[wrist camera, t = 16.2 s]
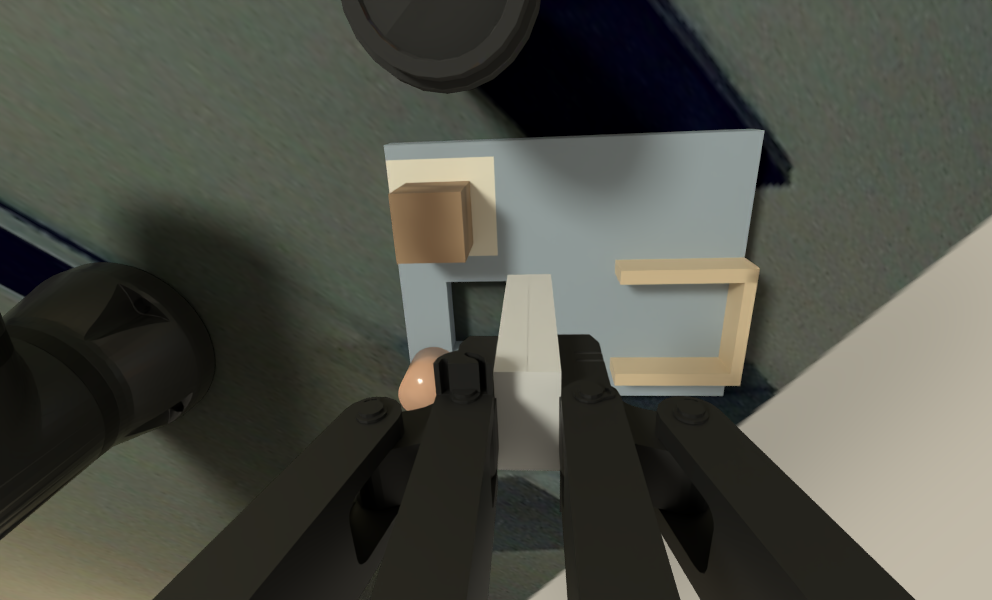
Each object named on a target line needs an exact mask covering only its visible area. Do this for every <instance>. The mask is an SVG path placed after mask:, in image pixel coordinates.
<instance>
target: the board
mask: <svg viewBox="0 0 992 600" xmlns="http://www.w3.org/2000/svg"><path fill="white" fill-rule="evenodd" d="M763 136H764V130H757V129H735V130H710V131H685V132H659V133H634V134H609V135H583V136H558V137H532V138H507V139H482V140H456V141H431V142H405V143H390V144H387V145H384V151H385V159H386V167H387V175H388V183H389V191H390V193H391V192H392V191H394V190H396V189H397V188H399V187H400V186H402V185H404V184H405V183H419V182H450V181H470V195H471V212H472V228H473V246H472V248H471V251H470V253H469V256H468V258H467V260H466V263H414V264H398V265H399V273H400V281H401V289H402V297H403V305H404V314H405V322H406V330H407V338H408V346H409V354H410V363H411V362H412V359H413V357H414V356H415V355H416V353H418V352H419V351H420V350H422V349H424V348H428V347H439V348H443V349H445V350H447V351H449V352H452V351H456V350H458V349H459V346H460V344H461V343H462V342H463V341H456V337H455V325H454V312H453V300H452V288H451V282H477V281H507V275H526V274H551V279H552V288H553V298H554V307H555V317H556V326H557V334H590V335H591V336H592V337H593V338H595V339H596V340H597V341H598V342H599V344H600V348H601V351H602V355H603V359H604V362H605V366H606V369H607V373H608V377H609V380H610V384H611V386H613V387H614V388H616V389H617V391H618V392H619V394H620V396H723V393H724V387H725V386H740V383H741V377H742V371H743V365H744V359H745V353H746V347H747V342H748V336H749V330H750V324H751V318H752V312H753V306H754V300H755V294H756V288H757V283H758V277H759V271H760V268H758V267H757V266H756V265H754V264H753V263H752V262H750V261H749V260H748V259H746V258H745V252H746V245H747V239H748V233H749V226H750V220H751V213H752V207H753V200H754V194H755V188H756V181H757V175H758V168H759V162H760V156H761V149H762V143H763Z"/></svg>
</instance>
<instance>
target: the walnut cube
mask: <svg viewBox="0 0 992 600" xmlns="http://www.w3.org/2000/svg"><path fill="white" fill-rule="evenodd" d="M388 195H389V203H390V211H391V219H392V228H393V236H394V244H395V252H396V260H397V264H414V263H466V260H467V258H468V256H469V253H470V251H471V248H472V246H473V228H472V212H471V195H470V181H450V182H419V183H405V184H404V185H402V186H400V187H399V188H397V189H396V190H394V191H392V192H391V193H389V194H388Z"/></svg>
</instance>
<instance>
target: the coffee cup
mask: <svg viewBox="0 0 992 600" xmlns="http://www.w3.org/2000/svg"><path fill="white" fill-rule="evenodd" d="M341 1H342V6H343V10H344V13H345V15H346V17H347V19H348V21H349V24H350V26H351V28H352V30H353V32H354V34H355V36H356V38H357V40H358V41H359V42H360V43H361V45H362V46H363V47H364V49H365V50H366V51H367V52H368V54H369V55H370V56H371V57H372V59H373V60H374V61H375V62H377V63H378V64H379V65H380V66H382V67H383V68H384V69H386V70H387V71H388V72H389V73H391V74H392V75H393V76H395V77H396V78H397V79H399V80H400V81H402V82H404V83H407V84H409V85H411V86H414V87H416V88H418V89H421V90H423V91H430V92H438V93H446V94H448V93H454V92H461V91H467V90H472V89H474V88H476V87H478V86H480V85H482V84H484V83H486V82H488V81H490V80H493V79H494V78H495V77H497V76H498V75H499V74H500V73H501V72H502V71H503V70H505V69H506V68H507V67H508V66H509V65H510V64H511V63H512V62H513V61H514V60H515V58H516V57H517V56H518V54H519V53H520V51H521V50H522V48H523V47H524V45H525V44H526V42H527V41H528V39H529V37H530V34H531V32H532V29H533V26H534V23H535V21H536V18H537V15H538V13H539V7H540V0H341Z"/></svg>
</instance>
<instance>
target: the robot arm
mask: <svg viewBox="0 0 992 600" xmlns="http://www.w3.org/2000/svg"><path fill="white" fill-rule="evenodd" d="M433 368H434V378H435V387H436V397H435V400H434V403H433V404H430V405H428V406H426V407H422V408H419V409H414V410H409V411H404V412H402V409H401V405H400V404H399V403H398V402H397V401H396V400H394V399H391V398H388V397H371V398H366V399H363V400H361V401H358V402H356V403H354V404H352V405H351V406H349V407H348V408H347V409H345V410H344V411H343V412H342V413H341V414H340V415H339V416H338V417H337V418H336V419H335V420H334V421H333V422H332V423H331V424H330V425H329V426H328V427H327V428H326V429H325V430H324V431H323V432H322V433H321V434H320V435H319V436H318V437H317V438H316V439H315V440H314V441H313V442H312V443H311V444H310V445H309V446H308V447H307V448H306V449H305V450H304V451H303V452H302V453H301V454H300V455H299V456H298V457H297V458H296V459H295V460H294V461H293V462H292V463H291V464H290V465H289V466H287V467H286V468H285V469H284V470H283V471H282V472H281V473H280V474H279V475H278V476H277V477H276V478H275V479H274V480H273V481H272V482H271V483H270V484H269V485H268V486H267V487H266V488H265V489H264V490H263V491H262V492H261V493H260V494H259V495H258V496H257V497H256V498H255V499H254V500H253V501H252V502H251V503H250V504H249V505H248V506H247V507H246V508H245V509H244V510H243V511H242V512H241V513H240V514H239V515H238V516H237V517H236V518H235V519H234V520H233V521H232V522H231V523H230V524H229V525H228V526H227V527H226V528H225V529H224V530H223V531H222V532H221V533H219V534H218V535H217V536H216V537H215V538H214V539H213V540H212V541H211V542H210V543H209V544H208V545H207V546H206V547H205V548H204V549H203V550H202V551H201V552H200V553H199V554H198V555H197V556H196V557H195V558H194V559H193V560H192V561H191V562H190V563H189V564H188V565H187V566H186V567H185V568H184V569H183V570H182V571H181V572H180V573H179V574H178V575H177V576H176V577H175V578H174V579H173V580H172V581H171V582H170V583H169V584H168V585H167V586H166V587H165V588H164V589H163V590H162V591H161V592H160V593H159V594H158V595H157V596H156V597H155V598H154V599H153V600H358V599H359V597H360V596H361V594H362V592H363V591H364V589H365V587H366V586H367V584H368V582H369V581H370V579H371V577H372V576H373V574H374V572H375V571H376V569H377V568H378V566H379V564H380V563H381V561H382V563H381V566H380V569H379V573H378V576H377V579H376V582H375V585H374V588H373V591H372V594H371V597H370V600H488V593H489V582H490V570H491V559H492V547H493V536H494V524H495V513H496V502H497V490H498V477H497V464H498V470H543V471H560V512H562V523H563V538H564V553H565V568H566V583H567V597H568V600H680V597H679V593H678V590H677V587H676V583H675V580H674V576H673V573H672V570H671V566H670V563H669V559H668V556H667V553H666V550H665V546H664V543H663V539H662V536H663V537H664V539H665V541H666V542H667V544H668V546H669V548H670V549H671V551H672V552H673V554H674V556H675V558H676V559H677V561H678V563H679V564H680V566H681V568H682V569H683V571H684V573H685V574H686V576H687V578H688V579H689V581H690V583H691V584H692V586H693V588H694V589H695V591H696V593H697V594H698V596H699V598H700V600H915V599H914V598H913V597H912V596H911V595H910V594H909V593H908V592H907V591H906V590H905V589H904V588H903V587H902V586H901V585H900V584H899V583H898V582H897V581H896V580H895V579H893V578H892V576H890V575H889V574H888V573H887V572H886V571H885V570H884V569H883V568H882V567H881V566H880V565H879V564H878V563H877V562H876V561H875V560H874V559H873V558H872V557H871V556H870V555H868V553H866V551H864V549H863V548H862V547H861V546H860V545H859V544H857V543H856V542H855V541H854V540H853V539H852V538H851V537H850V536H849V535H848V534H847V533H846V532H845V531H844V530H843V529H842V528H841V527H840V526H839V525H838V524H837V523H836V522H835V521H834V520H833V519H832V518H831V517H830V516H829V515H828V514H826V513H825V512H824V511H823V510H822V509H821V508H820V507H819V506H818V505H817V504H816V503H815V502H814V501H813V500H812V499H811V498H810V497H809V496H808V495H807V494H806V493H805V492H804V491H803V490H802V489H801V488H800V487H799V486H798V485H797V484H795V482H794V481H792V480H791V479H790V478H789V477H788V476H787V475H786V474H785V473H784V472H783V471H782V470H781V469H780V468H779V467H778V466H777V465H776V464H775V463H774V462H773V461H772V460H771V459H770V458H769V457H768V456H767V455H765V453H763V451H761V450H760V449H759V448H758V447H757V446H756V445H755V444H754V443H753V442H752V441H751V440H750V439H749V438H748V437H747V436H746V435H745V434H744V433H743V432H742V431H741V430H740V429H739V428H738V427H737V426H736V425H735V424H734V423H733V422H732V421H731V420H730V419H729V418H728V417H726V416H725V415H724V414H723V413H722V412H721V411H720V410H719V409H718V408H716V407H715V406H714V405H712V404H711V403H708V402H706V401H703V400H701V399H698V398H694V397H688V396H675V397H671V398H667V399H664V400H663V401H662V402H661V403H659V404H658V408H657V412H656V411H651V410H646V409H642V408H638V407H634V406H632V405H629V404H627V403H625V402H623V401H622V399H621V396H620V394H619V392H618V391H617V389H616V388H614V387H613V386H611V384H610V380H609V377H608V373H607V369H606V366H605V362H604V359H603V355H602V351H601V348H600V344H599V342H598V341H597V340H596V339H595V338H593V337H592V336H591V335H590V334H557V326H556V317H555V307H554V298H553V288H552V279H551V274H526V275H507V282H506V289H505V296H504V302H503V309H502V316H501V323H500V330H499V336H469V337H468V338H467V339H465V340H464V341H463V342H462V343H461V344H460V346H459V349H458V350H456V351H452V352H449V353H445V354H443V355H442V356H440V357H438V358H437V359H436V360H435V362H434V363H433ZM214 369H215V358H214V351H213V346H212V343H211V340H210V337H209V334H208V332H207V330H206V328H205V326H204V324H203V322H202V321H201V319H200V318H199V316H198V315H197V313H196V312H195V311H194V309H193V308H192V307H191V306H190V304H189V303H188V302H187V301H186V300H185V299H184V298H183V297H182V296H181V295H180V294H179V293H177V292H176V291H175V290H174V289H173V288H171V287H170V286H169V285H167V284H166V283H164V282H163V281H161V280H160V279H158V278H156V277H154V276H152V275H151V274H149V273H146V272H144V271H142V270H139V269H137V268H134V267H130V266H127V265H123V264H117V263H108V262H98V263H89V264H85V265H81V266H78V267H75V268H73V269H70V270H67V271H64V272H62V273H59V274H57V275H54V276H52V277H50V278H49V279H47V280H45V281H44V282H42V283H41V284H39V285H38V286H37V287H36V288H35V289H34V290H33V291H32V292H30V293H29V294H28V295H27V296H26V297H25V298H23V299H22V300H21V301H20V302H19V303H18V304H17V305H15V306H14V307H13V308H12V309H11V310H10V311H9V312H7V313H6V314H5V315H4V316H3V317H2V316H1V313H0V540H1V539H2V538H4V537H5V536H6V535H7V534H8V533H10V532H11V531H12V530H13V529H14V528H16V527H17V526H18V525H19V524H20V523H21V522H23V521H24V520H25V519H26V518H27V517H29V516H30V515H31V514H32V513H33V512H35V511H36V510H37V509H38V508H39V507H41V506H42V505H43V504H44V503H45V502H46V501H48V500H49V499H50V498H51V497H52V496H54V495H55V494H56V493H57V492H58V491H60V490H61V489H62V488H63V487H64V486H66V485H67V484H68V483H69V482H70V481H71V480H73V479H74V478H75V477H76V476H77V475H79V474H80V473H81V472H82V471H83V470H85V469H86V468H87V467H88V466H89V465H91V464H92V463H93V462H94V461H95V460H96V459H98V458H99V457H100V456H101V455H103V454H104V453H105V452H106V451H108V450H109V449H110V448H111V447H113V446H116V445H118V444H120V443H123V442H125V441H128V440H130V439H133V438H135V437H137V436H140V435H142V434H145V433H147V432H150V431H152V430H154V429H157V428H159V427H162V426H164V425H167V424H169V423H171V422H173V421H175V420H176V419H178V418H179V417H181V416H182V415H184V414H185V413H186V412H187V411H188V410H189V409H191V408H192V407H193V406H194V405H195V404H196V403H197V402H198V401H200V400H201V399H202V398H203V396H204V395H205V394H206V392H207V391H208V389H209V387H210V385H211V382H212V379H213V376H214ZM661 534H662V535H661ZM382 559H383V560H382Z"/></svg>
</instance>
